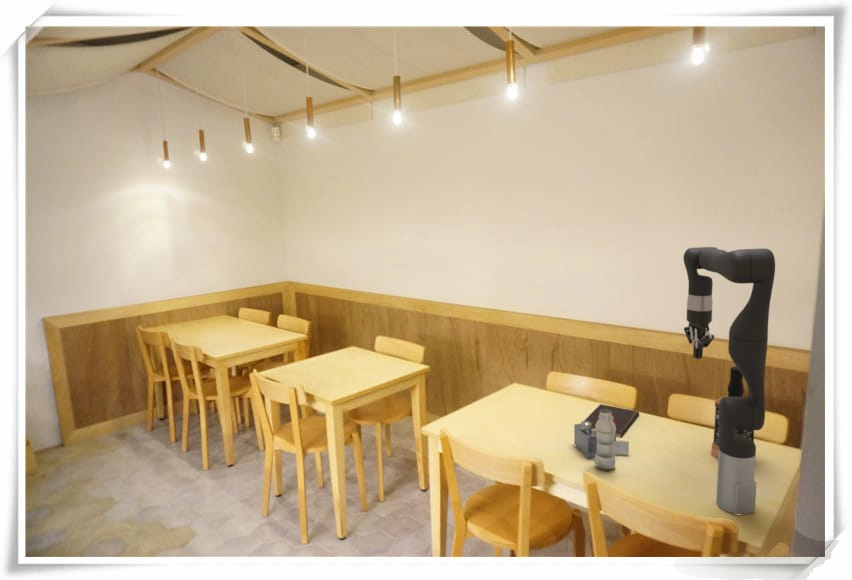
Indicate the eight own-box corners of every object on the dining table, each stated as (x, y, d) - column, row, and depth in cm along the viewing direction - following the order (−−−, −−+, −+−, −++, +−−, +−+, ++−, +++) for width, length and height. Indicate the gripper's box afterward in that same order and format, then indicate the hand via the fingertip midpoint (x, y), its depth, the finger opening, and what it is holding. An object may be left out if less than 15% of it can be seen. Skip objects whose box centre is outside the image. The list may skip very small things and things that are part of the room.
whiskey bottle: (708, 453, 191) (712, 365, 185) (730, 447, 195) (734, 361, 189) (734, 467, 182) (739, 374, 176) (756, 460, 185) (762, 369, 179)
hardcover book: (580, 429, 216) (580, 424, 216) (600, 409, 234) (600, 404, 234) (621, 439, 207) (621, 433, 206) (639, 416, 225) (639, 411, 225)
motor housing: (610, 438, 207) (610, 411, 205) (629, 455, 193) (630, 426, 191) (572, 443, 204) (572, 415, 202) (589, 461, 191) (589, 431, 189)
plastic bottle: (599, 460, 191) (599, 406, 187) (618, 466, 186) (619, 410, 183) (591, 468, 186) (591, 413, 182) (611, 474, 181) (611, 417, 178)
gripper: (723, 310, 176) (721, 362, 179) (697, 302, 189) (695, 351, 192) (702, 312, 175) (700, 365, 178) (676, 304, 188) (675, 353, 191)
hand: (697, 357), depth 185 cm, fingers closed
